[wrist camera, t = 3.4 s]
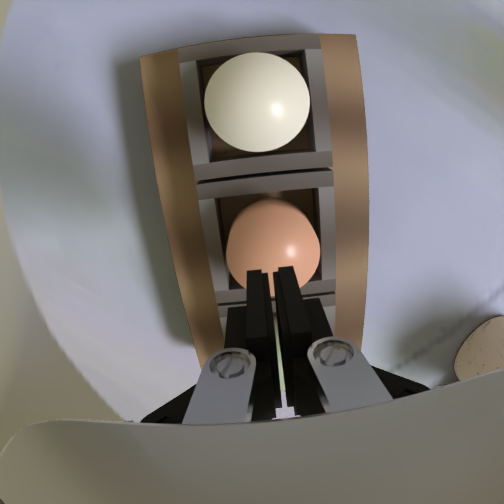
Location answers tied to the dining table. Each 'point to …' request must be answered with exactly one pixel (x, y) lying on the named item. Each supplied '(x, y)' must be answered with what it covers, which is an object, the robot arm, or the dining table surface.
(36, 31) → the dining table surface
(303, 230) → the terracotta button
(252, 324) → the robot arm
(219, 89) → the cream button
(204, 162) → the button console
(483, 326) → the teacup with lid
